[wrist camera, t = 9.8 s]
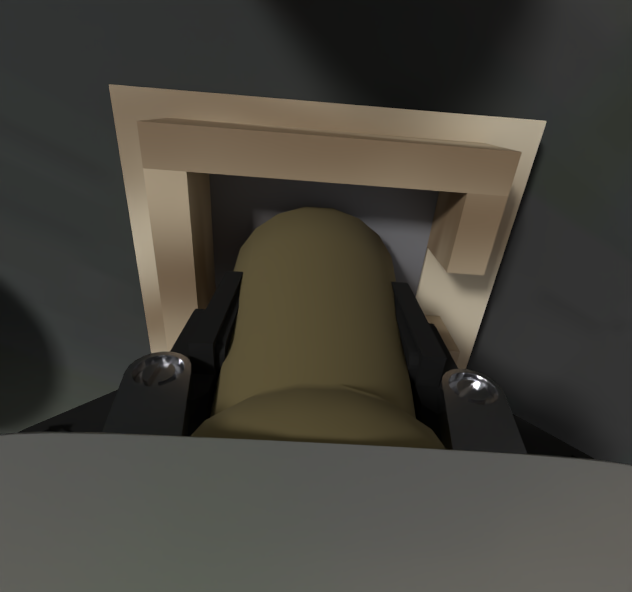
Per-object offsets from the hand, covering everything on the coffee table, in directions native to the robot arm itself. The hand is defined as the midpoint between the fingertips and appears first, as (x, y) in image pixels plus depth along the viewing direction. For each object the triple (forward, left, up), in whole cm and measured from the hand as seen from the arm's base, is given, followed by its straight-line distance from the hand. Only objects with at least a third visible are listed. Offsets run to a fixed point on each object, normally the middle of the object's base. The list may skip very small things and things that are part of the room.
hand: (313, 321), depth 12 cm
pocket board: (-3, 0, -5) cm, 5 cm away
